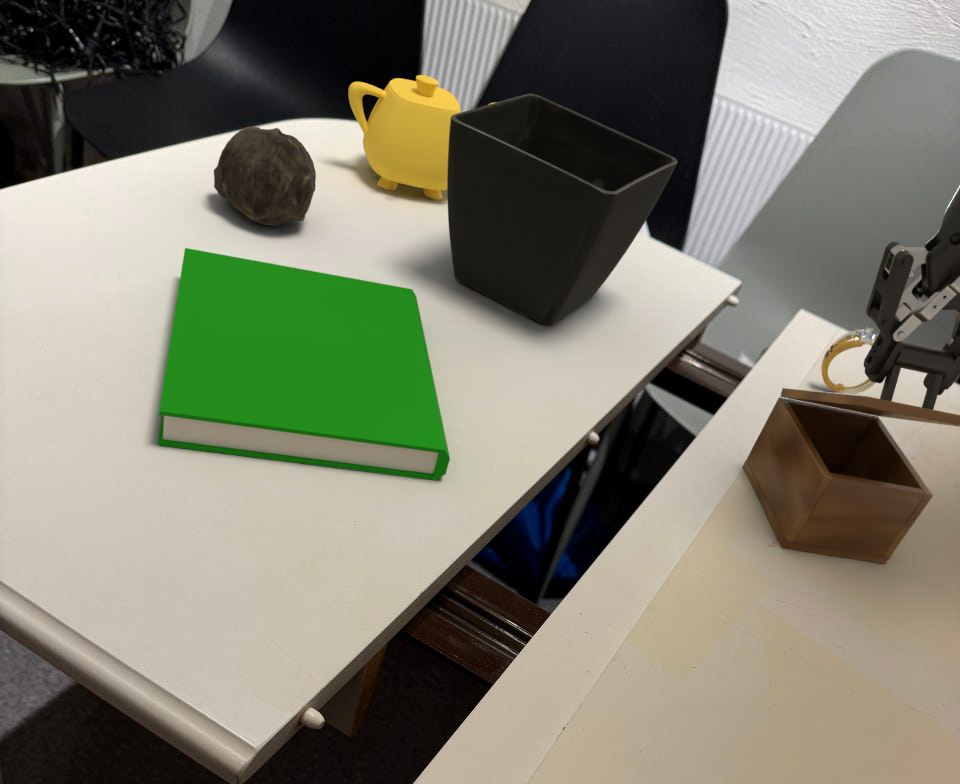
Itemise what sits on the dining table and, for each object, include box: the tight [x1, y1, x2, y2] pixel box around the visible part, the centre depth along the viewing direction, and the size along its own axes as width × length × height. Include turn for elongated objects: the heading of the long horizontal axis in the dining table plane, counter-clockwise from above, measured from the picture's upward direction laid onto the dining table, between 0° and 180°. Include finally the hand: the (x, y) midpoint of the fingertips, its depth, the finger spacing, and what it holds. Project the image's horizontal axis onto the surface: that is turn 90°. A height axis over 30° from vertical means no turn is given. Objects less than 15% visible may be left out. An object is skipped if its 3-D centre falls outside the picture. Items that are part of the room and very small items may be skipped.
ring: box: [820, 326, 879, 395], centre depth 110 cm, size 7×3×8 cm, turn 82°
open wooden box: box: [742, 396, 934, 565], centre depth 89 cm, size 13×11×8 cm
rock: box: [213, 125, 317, 227], centre depth 105 cm, size 10×11×10 cm
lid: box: [780, 340, 960, 428], centre depth 83 cm, size 14×11×6 cm
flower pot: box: [446, 93, 678, 326], centre depth 106 cm, size 19×19×17 cm
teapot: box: [347, 74, 498, 201], centre depth 123 cm, size 13×20×12 cm
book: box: [157, 247, 451, 481], centre depth 86 cm, size 22×28×3 cm
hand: (901, 383), depth 81 cm, fingers closed on lid, 5 cm apart
